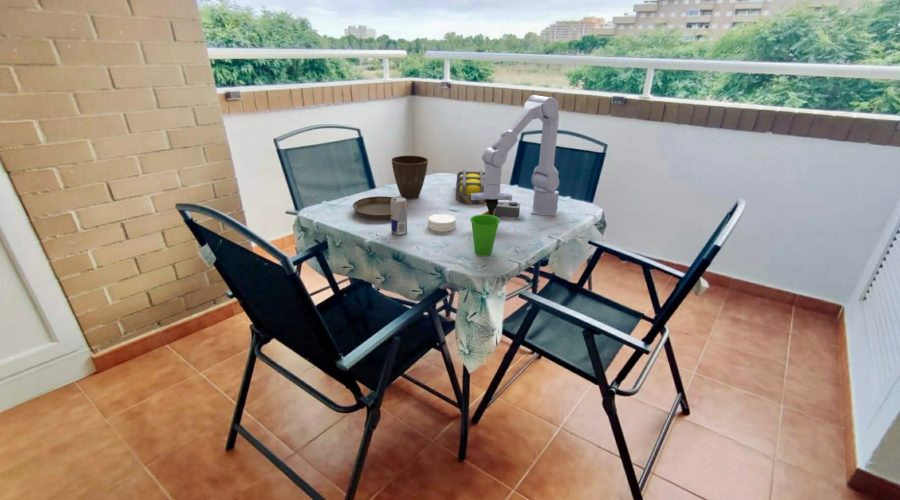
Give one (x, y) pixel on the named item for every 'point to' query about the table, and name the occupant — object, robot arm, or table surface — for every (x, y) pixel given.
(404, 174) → the plant pot
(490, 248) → the cup
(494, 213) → the wooden matchstick
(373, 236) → the table surface
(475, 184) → the cage light
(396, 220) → the energy drink
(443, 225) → the white round disc
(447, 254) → the table surface
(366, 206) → the plant saucer
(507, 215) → the camera body
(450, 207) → the table surface
